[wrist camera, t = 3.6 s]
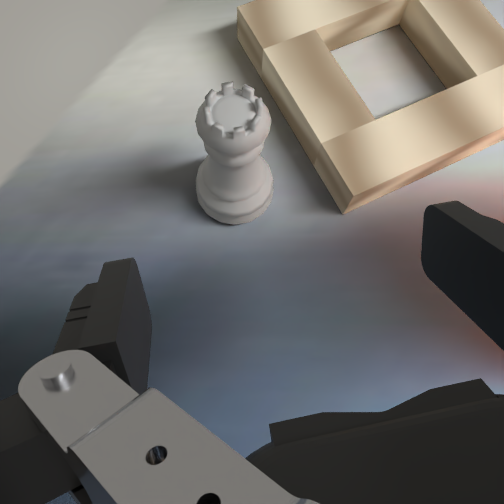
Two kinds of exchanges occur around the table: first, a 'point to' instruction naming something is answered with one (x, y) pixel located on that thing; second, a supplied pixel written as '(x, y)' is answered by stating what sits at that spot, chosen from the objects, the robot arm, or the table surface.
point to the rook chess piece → (234, 155)
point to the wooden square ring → (352, 106)
